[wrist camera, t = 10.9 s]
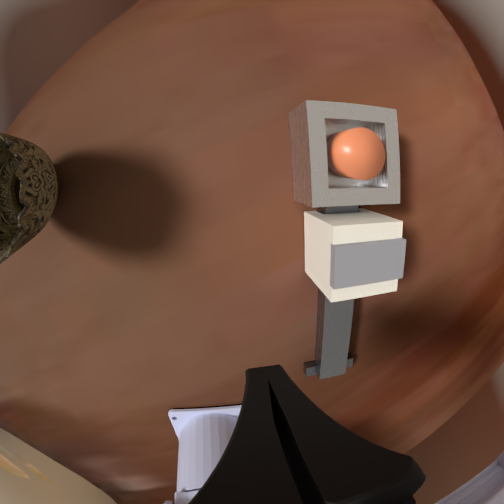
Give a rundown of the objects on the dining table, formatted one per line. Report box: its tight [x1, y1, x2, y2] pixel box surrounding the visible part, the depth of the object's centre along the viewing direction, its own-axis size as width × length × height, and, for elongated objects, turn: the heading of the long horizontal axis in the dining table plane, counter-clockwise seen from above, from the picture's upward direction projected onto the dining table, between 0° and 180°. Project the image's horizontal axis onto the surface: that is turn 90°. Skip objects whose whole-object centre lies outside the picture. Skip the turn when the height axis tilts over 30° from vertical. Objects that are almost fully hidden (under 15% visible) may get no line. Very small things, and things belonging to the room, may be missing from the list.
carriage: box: [304, 208, 406, 303], centre depth 18 cm, size 4×5×6 cm
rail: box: [304, 205, 358, 379], centre depth 21 cm, size 14×4×2 cm, turn 4°
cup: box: [0, 133, 61, 264], centre depth 13 cm, size 8×7×8 cm
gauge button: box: [327, 127, 385, 180], centre depth 15 cm, size 3×3×2 cm
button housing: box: [288, 100, 400, 208], centre depth 17 cm, size 6×6×4 cm
